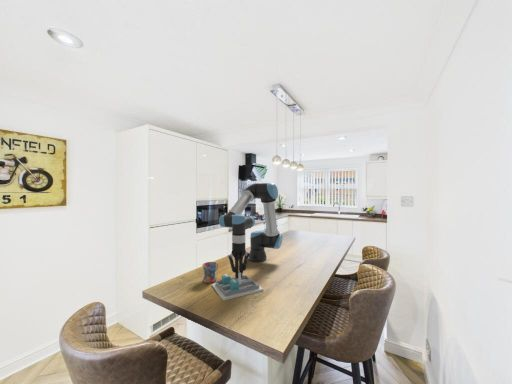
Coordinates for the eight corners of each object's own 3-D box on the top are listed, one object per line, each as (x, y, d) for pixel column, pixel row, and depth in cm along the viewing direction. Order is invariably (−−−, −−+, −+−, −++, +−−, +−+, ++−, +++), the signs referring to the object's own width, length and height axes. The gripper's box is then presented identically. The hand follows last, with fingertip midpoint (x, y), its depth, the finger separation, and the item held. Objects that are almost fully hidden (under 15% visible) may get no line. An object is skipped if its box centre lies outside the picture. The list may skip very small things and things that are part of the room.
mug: (209, 285, 129) (209, 267, 129) (199, 281, 134) (199, 264, 134) (223, 278, 139) (223, 262, 139) (212, 275, 144) (212, 259, 144)
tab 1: (228, 282, 130) (228, 273, 129) (230, 285, 126) (230, 275, 126) (221, 284, 128) (221, 274, 128) (224, 286, 124) (224, 277, 124)
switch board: (247, 277, 140) (247, 273, 140) (263, 290, 122) (263, 284, 122) (212, 285, 128) (212, 280, 128) (223, 300, 111) (223, 294, 111)
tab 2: (236, 288, 122) (236, 278, 122) (239, 291, 119) (239, 280, 119) (229, 289, 120) (229, 279, 120) (232, 292, 117) (232, 282, 117)
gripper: (246, 239, 127) (246, 279, 127) (225, 241, 121) (225, 283, 121) (252, 242, 120) (252, 283, 121) (230, 244, 114) (230, 288, 114)
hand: (238, 283), depth 121 cm, fingers closed
